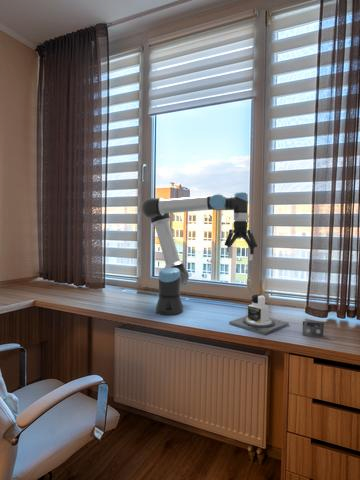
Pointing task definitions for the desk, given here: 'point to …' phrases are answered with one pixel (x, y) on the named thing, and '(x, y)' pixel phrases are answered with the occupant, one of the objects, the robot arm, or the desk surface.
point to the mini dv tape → (313, 328)
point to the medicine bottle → (258, 309)
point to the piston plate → (259, 325)
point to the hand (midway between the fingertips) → (240, 259)
